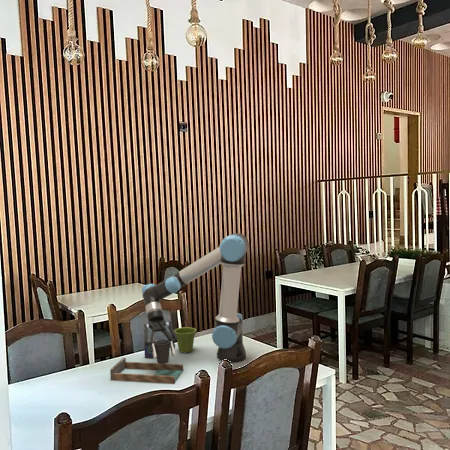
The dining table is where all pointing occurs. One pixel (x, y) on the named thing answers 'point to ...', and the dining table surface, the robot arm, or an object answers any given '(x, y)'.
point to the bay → (162, 375)
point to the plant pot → (185, 338)
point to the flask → (147, 350)
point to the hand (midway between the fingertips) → (164, 356)
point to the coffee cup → (162, 351)
